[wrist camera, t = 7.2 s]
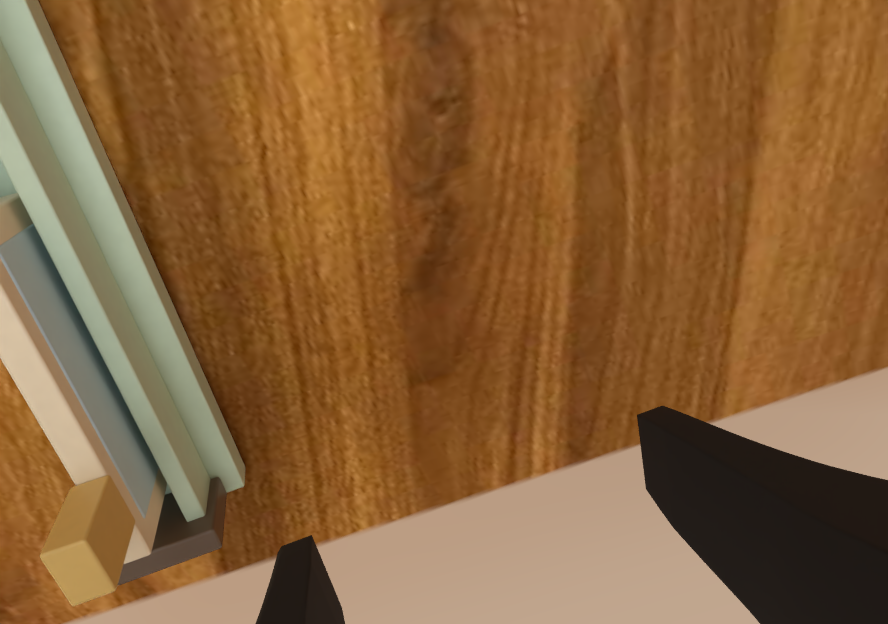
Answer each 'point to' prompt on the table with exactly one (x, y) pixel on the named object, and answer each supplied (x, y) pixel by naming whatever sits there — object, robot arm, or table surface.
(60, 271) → the green sliding track
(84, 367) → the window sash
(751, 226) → the table surface
